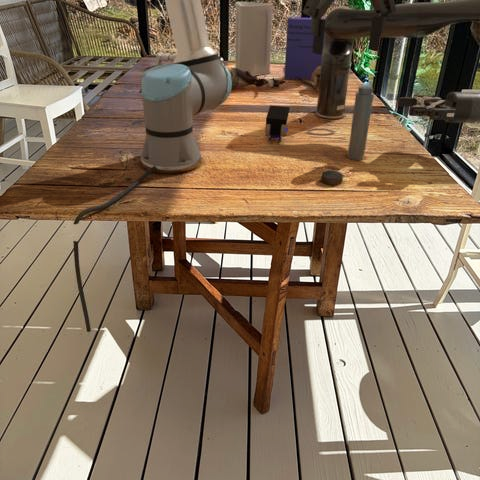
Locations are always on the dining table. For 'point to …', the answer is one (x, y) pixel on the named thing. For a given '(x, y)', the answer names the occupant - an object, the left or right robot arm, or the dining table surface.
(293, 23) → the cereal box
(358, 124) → the grey cylinder
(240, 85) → the figurine
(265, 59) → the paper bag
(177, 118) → the left robot arm
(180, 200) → the dining table surface
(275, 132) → the figurine character
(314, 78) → the anatomical model
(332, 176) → the lid
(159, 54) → the toy
